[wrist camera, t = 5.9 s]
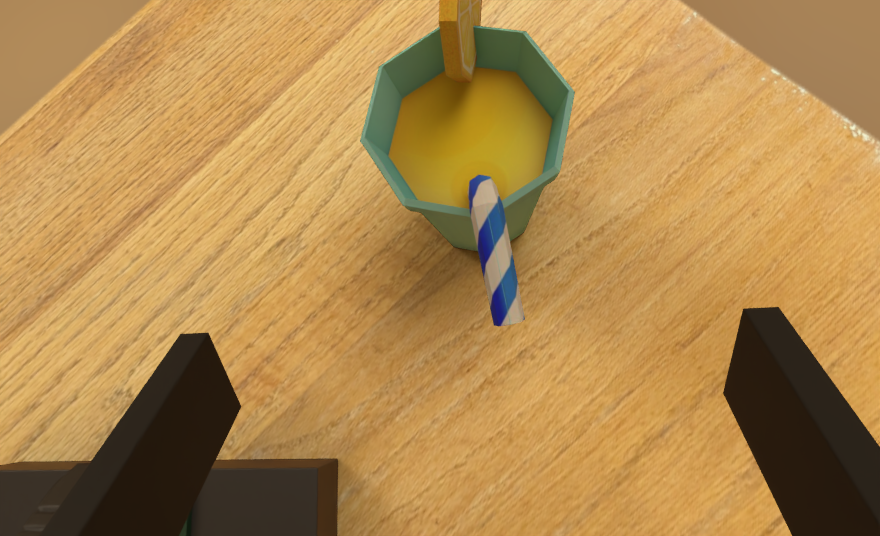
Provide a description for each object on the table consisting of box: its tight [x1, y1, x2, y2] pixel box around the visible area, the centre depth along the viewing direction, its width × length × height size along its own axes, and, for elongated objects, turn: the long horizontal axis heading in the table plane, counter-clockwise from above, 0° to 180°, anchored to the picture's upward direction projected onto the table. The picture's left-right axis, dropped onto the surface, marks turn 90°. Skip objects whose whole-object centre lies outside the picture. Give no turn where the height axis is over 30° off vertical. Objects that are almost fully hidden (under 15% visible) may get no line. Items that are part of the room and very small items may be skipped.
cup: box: [360, 0, 575, 326], centre depth 22 cm, size 14×8×15 cm, turn 10°
